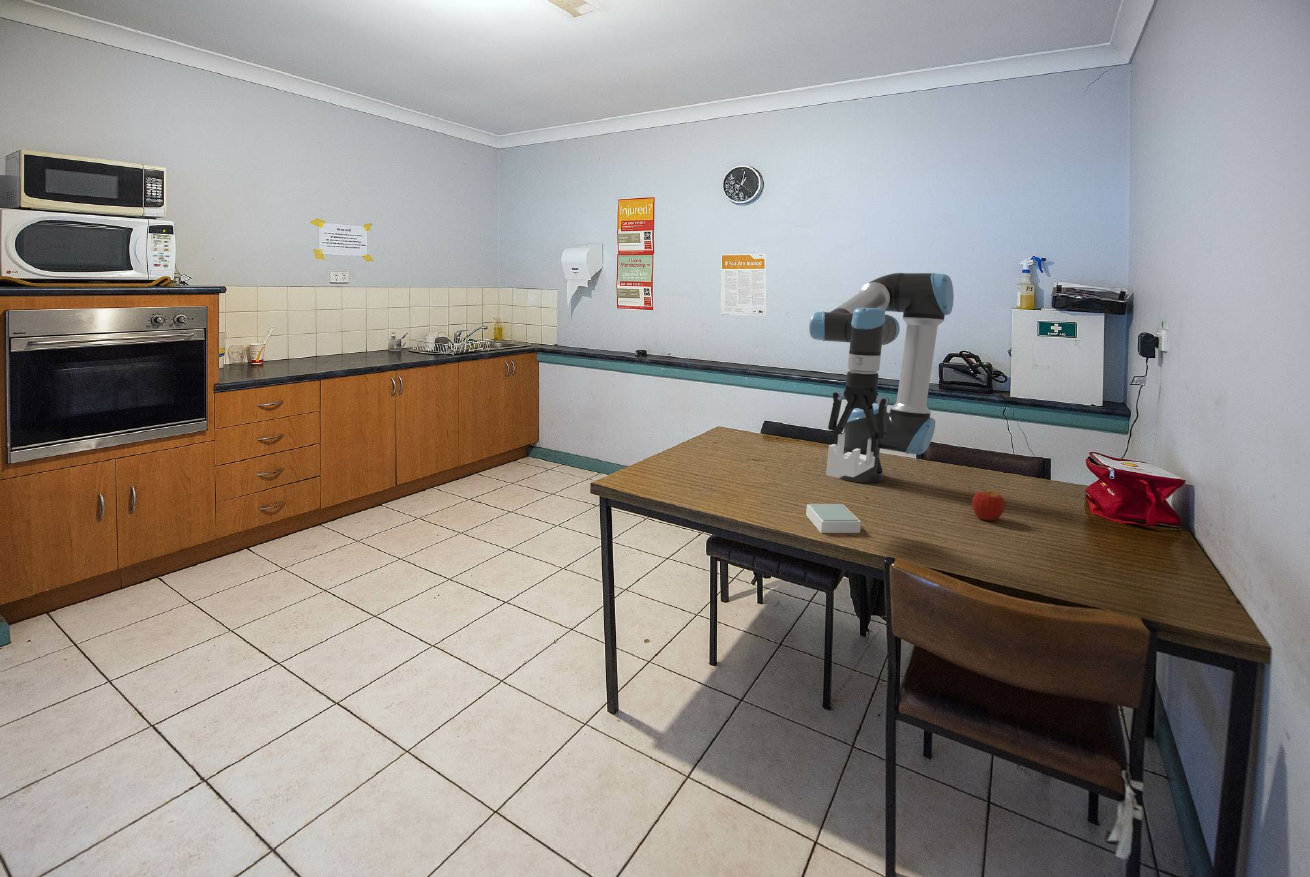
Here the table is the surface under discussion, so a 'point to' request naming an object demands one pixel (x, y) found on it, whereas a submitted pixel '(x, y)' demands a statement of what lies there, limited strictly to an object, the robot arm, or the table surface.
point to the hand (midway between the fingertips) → (853, 460)
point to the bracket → (846, 463)
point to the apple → (988, 505)
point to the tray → (833, 518)
